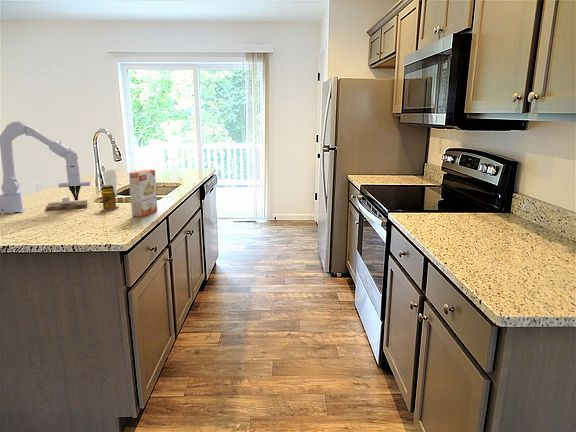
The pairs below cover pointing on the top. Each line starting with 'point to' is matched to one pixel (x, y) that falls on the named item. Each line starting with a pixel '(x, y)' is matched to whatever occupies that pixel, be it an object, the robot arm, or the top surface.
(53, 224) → the top surface
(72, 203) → the fader board
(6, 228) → the top surface
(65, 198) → the fader tab
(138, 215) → the cracker box
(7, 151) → the robot arm
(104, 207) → the condiment
